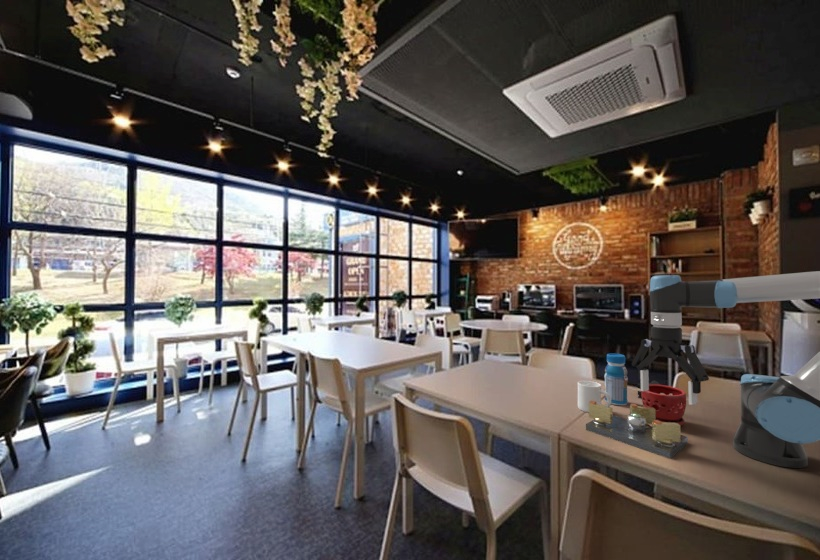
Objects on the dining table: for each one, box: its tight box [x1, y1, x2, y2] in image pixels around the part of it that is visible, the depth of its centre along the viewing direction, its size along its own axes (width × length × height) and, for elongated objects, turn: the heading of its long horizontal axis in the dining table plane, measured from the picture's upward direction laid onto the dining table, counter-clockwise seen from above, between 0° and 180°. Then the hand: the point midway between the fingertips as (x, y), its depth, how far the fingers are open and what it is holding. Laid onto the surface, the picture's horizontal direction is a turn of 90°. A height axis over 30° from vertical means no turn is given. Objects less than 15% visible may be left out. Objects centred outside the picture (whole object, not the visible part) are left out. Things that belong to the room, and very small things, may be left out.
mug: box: [577, 380, 612, 413], centre depth 135 cm, size 12×8×10 cm
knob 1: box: [588, 401, 613, 424], centre depth 119 cm, size 7×3×6 cm, turn 37°
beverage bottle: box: [603, 353, 629, 407], centre depth 145 cm, size 8×8×20 cm
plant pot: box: [640, 384, 687, 427], centre depth 125 cm, size 13×13×12 cm
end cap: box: [637, 380, 661, 400], centre depth 151 cm, size 10×7×7 cm
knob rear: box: [629, 403, 655, 426], centre depth 117 cm, size 7×3×6 cm, turn 72°
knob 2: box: [651, 420, 681, 445], centre depth 104 cm, size 7×3×6 cm, turn 86°
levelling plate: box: [585, 413, 689, 459], centre depth 113 cm, size 24×17×7 cm
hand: (667, 397), depth 104 cm, fingers open, 13 cm apart
